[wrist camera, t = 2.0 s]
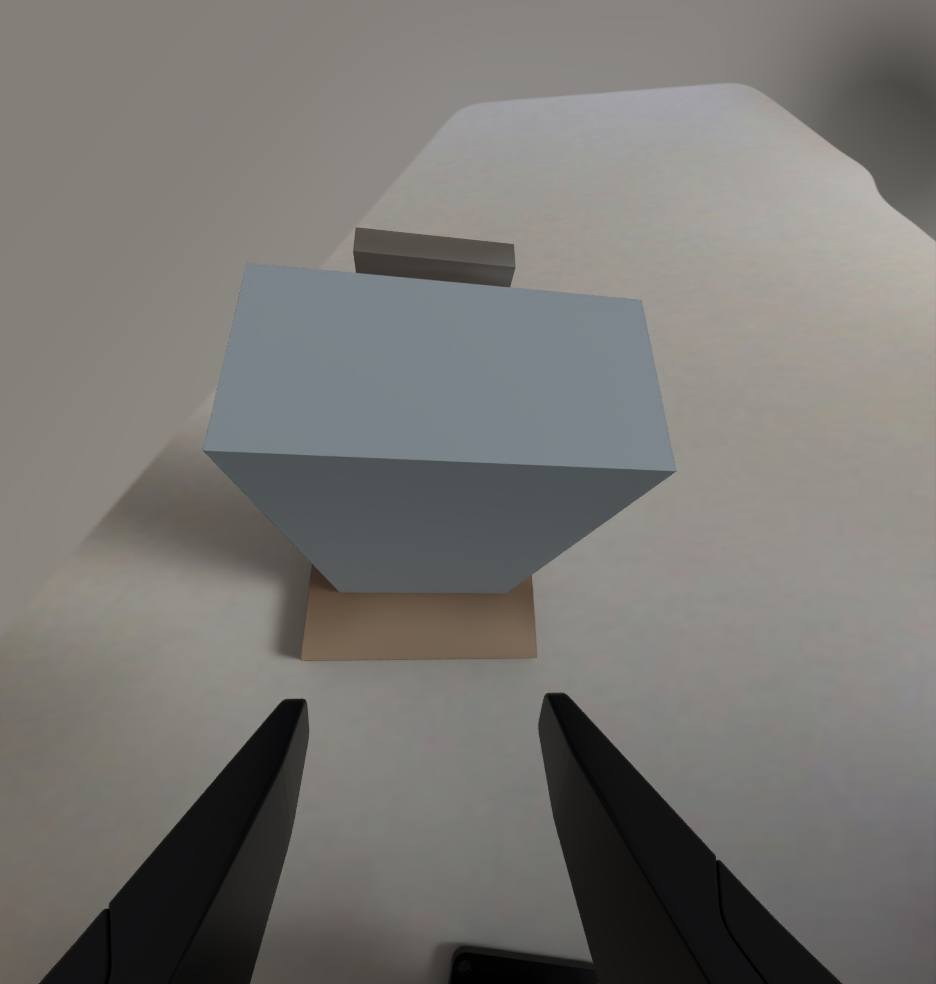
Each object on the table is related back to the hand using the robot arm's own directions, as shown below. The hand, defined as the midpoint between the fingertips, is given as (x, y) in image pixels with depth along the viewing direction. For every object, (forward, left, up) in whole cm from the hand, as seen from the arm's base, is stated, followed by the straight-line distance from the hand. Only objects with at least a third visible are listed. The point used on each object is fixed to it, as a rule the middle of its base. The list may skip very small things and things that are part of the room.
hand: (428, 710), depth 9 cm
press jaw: (+1, -6, -12) cm, 14 cm away
